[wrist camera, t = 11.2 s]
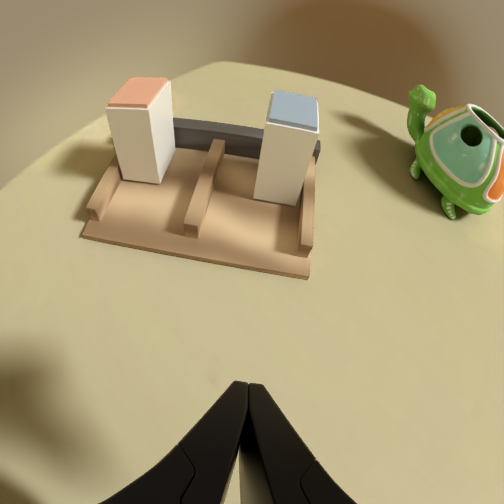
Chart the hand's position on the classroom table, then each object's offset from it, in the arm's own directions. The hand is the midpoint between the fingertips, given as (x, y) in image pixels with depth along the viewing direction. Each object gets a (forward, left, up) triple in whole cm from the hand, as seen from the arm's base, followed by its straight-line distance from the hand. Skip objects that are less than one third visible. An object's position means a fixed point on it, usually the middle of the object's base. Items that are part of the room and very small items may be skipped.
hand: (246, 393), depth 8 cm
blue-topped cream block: (+15, +15, -14) cm, 25 cm away
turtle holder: (+37, +7, -14) cm, 40 cm away
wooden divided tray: (+8, +17, -14) cm, 23 cm away
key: (+5, +23, -14) cm, 28 cm away
